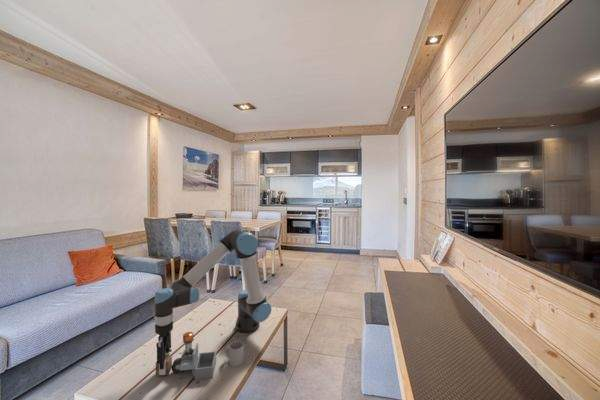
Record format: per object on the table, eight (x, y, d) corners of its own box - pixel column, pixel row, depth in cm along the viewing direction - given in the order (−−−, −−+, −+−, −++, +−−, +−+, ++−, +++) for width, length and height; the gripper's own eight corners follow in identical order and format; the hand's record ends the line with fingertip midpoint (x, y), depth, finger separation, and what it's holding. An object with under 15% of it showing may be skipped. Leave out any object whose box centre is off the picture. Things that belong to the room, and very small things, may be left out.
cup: (239, 368, 127) (239, 350, 127) (221, 364, 130) (221, 346, 130) (246, 358, 134) (246, 342, 134) (229, 355, 137) (229, 338, 137)
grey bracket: (198, 363, 131) (198, 343, 130) (194, 376, 122) (194, 354, 121) (175, 365, 129) (174, 345, 128) (169, 379, 120) (169, 356, 119)
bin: (216, 360, 133) (216, 351, 132) (212, 377, 121) (212, 367, 121) (199, 362, 131) (199, 353, 131) (194, 379, 119) (194, 369, 119)
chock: (171, 367, 126) (171, 355, 126) (168, 374, 121) (168, 361, 121) (159, 368, 125) (159, 356, 125) (155, 375, 120) (155, 362, 120)
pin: (194, 352, 129) (194, 331, 129) (192, 359, 125) (192, 336, 124) (184, 353, 129) (184, 332, 128) (182, 360, 124) (181, 337, 123)
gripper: (162, 314, 131) (162, 358, 132) (147, 333, 113) (148, 385, 114) (178, 312, 132) (178, 357, 133) (166, 332, 114) (166, 383, 115)
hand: (164, 370), depth 123 cm, fingers closed on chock, 5 cm apart
